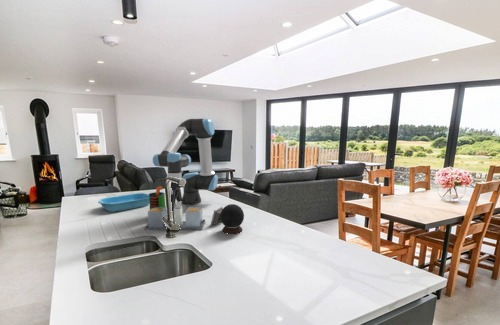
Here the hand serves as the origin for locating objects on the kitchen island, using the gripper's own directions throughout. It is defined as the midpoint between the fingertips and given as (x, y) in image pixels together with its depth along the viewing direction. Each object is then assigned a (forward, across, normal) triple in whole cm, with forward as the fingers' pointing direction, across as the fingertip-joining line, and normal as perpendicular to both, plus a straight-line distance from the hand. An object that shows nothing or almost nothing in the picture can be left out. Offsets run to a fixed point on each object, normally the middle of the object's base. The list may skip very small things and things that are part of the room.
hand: (176, 215), depth 152 cm
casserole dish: (+7, -41, -47) cm, 63 cm away
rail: (+6, 0, 0) cm, 6 cm away
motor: (+6, -16, -16) cm, 24 cm away
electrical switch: (+7, -6, +24) cm, 26 cm away
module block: (+5, 0, 0) cm, 5 cm away
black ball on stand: (+7, +7, +33) cm, 34 cm away
